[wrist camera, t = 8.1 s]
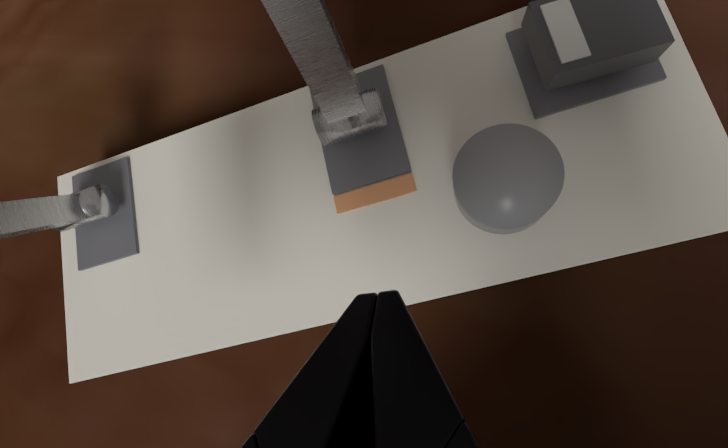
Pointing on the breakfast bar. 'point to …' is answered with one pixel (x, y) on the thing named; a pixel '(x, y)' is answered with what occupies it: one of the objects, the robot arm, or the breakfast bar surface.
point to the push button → (507, 178)
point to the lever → (57, 211)
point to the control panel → (379, 199)
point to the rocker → (593, 37)
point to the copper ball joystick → (326, 70)
